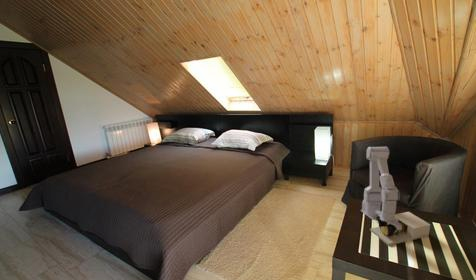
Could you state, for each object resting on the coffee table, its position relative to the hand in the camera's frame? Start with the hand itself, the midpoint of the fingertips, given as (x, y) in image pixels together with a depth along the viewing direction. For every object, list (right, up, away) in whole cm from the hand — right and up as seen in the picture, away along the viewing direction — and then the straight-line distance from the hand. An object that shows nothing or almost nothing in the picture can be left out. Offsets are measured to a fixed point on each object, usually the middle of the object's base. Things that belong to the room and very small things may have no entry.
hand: (386, 232), depth 115 cm
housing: (+8, -1, +2) cm, 8 cm away
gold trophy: (+5, 0, +1) cm, 5 cm away
